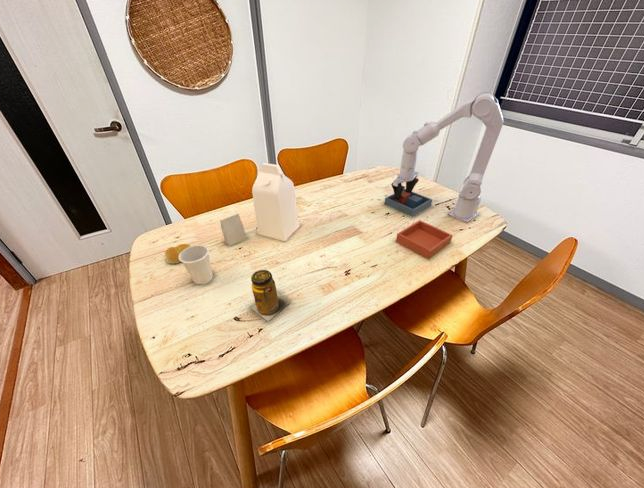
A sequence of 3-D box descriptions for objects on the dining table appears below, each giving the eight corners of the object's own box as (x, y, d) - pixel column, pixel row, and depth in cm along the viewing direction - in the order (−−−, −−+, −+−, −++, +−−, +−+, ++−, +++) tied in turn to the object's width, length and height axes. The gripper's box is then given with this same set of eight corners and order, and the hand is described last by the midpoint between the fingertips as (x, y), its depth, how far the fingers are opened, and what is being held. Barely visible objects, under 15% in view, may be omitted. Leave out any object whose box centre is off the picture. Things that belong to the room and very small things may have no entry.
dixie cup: (201, 291, 83) (190, 266, 77) (183, 281, 86) (172, 256, 80) (222, 274, 88) (214, 250, 82) (205, 266, 92) (196, 241, 86)
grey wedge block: (246, 238, 104) (240, 215, 98) (229, 246, 100) (222, 222, 94) (241, 234, 106) (236, 211, 100) (225, 241, 103) (218, 218, 96)
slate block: (412, 203, 121) (413, 194, 118) (420, 207, 119) (422, 198, 116) (405, 207, 119) (407, 198, 116) (414, 211, 116) (416, 201, 114)
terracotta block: (400, 199, 125) (402, 190, 122) (409, 202, 122) (410, 193, 119) (394, 202, 123) (396, 193, 120) (402, 205, 120) (404, 196, 117)
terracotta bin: (417, 227, 107) (419, 220, 105) (450, 243, 99) (452, 235, 97) (395, 241, 100) (397, 233, 98) (428, 259, 92) (430, 251, 90)
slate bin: (403, 195, 129) (404, 188, 127) (430, 207, 120) (432, 199, 118) (384, 205, 122) (385, 197, 120) (411, 218, 113) (413, 210, 111)
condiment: (250, 308, 77) (242, 277, 70) (273, 291, 82) (267, 260, 75) (268, 321, 73) (260, 290, 66) (290, 303, 78) (286, 271, 71)
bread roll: (197, 257, 96) (193, 248, 93) (169, 267, 92) (164, 258, 89) (191, 245, 101) (188, 236, 98) (165, 254, 97) (160, 245, 95)
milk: (299, 225, 110) (294, 161, 94) (284, 241, 102) (275, 173, 86) (274, 219, 114) (264, 156, 98) (258, 234, 106) (244, 168, 90)
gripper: (410, 159, 118) (405, 188, 127) (388, 168, 111) (384, 198, 119) (424, 163, 114) (418, 193, 122) (403, 173, 107) (397, 204, 115)
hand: (402, 196), depth 121 cm, fingers open, 7 cm apart
